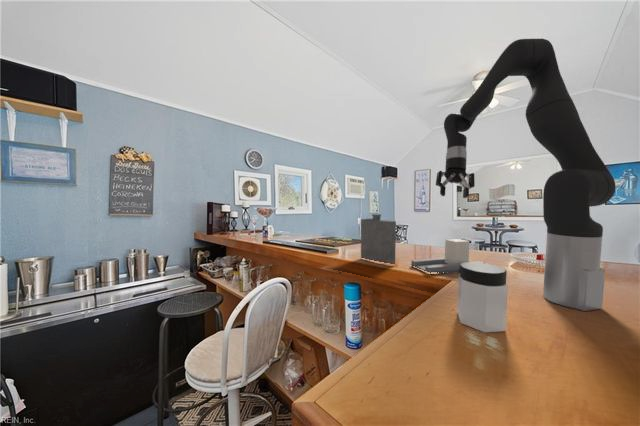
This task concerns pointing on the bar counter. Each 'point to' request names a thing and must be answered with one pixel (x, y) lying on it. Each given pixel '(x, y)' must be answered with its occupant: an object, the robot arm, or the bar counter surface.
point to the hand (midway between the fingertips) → (454, 196)
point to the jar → (482, 296)
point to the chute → (436, 265)
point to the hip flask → (378, 239)
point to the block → (456, 251)
